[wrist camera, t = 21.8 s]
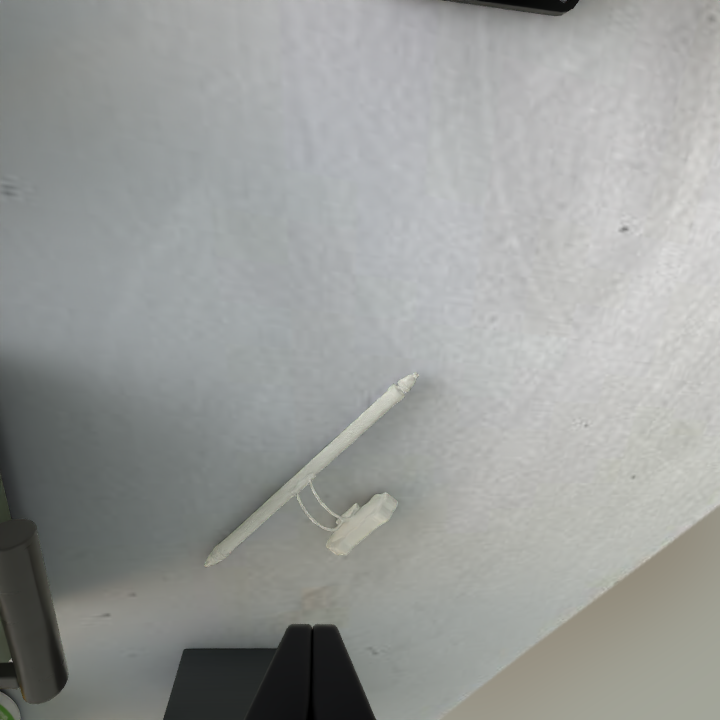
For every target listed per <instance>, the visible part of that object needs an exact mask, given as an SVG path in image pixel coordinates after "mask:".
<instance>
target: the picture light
mask: <svg viewBox="0 0 720 720" xmlns="http://www.w3.org/2000/svg"><path fill="white" fill-rule="evenodd" d="M418 376H419V374H418V373H417V372H415V373H414V375H408V376H406V377H405V378H403V379H400V380H399V381H398V386H397V385H395V384H393V385H392V386H391V387H390V388H388V389H387V392H386V393H385V394H383V395H382V396H381V397H380V398H379V399H378V400H377V401H376V402H375V403H374V404H373V405H371V406H370V407H369V408H368V409H367V410H366V411H365V412H364V413H363V414H362V415H360V416H359V417H358V418H357V419H356V420H355V421H354V422H353V423H352V424H351V425H350V426H348V427H347V428H346V429H345V430H344V431H343V432H342V433H341V434H340V435H339V436H337V437H336V438H335V439H334V440H333V441H332V442H331V443H330V444H329V445H328V446H327V447H325V448H324V449H323V450H322V451H321V452H320V453H319V454H318V455H317V456H316V457H314V458H313V459H312V460H311V461H310V462H309V463H308V464H307V465H306V466H305V467H304V468H302V469H301V470H300V471H299V472H298V473H297V474H296V475H295V476H294V477H293V478H291V479H290V480H289V481H288V482H287V483H286V484H285V485H284V486H283V487H282V488H281V489H279V490H278V491H277V492H276V493H275V494H274V495H273V496H272V497H271V498H270V499H268V500H267V501H266V502H265V503H264V504H263V505H262V506H261V507H260V508H259V509H258V510H256V511H255V512H254V513H253V514H252V515H251V516H250V517H249V518H248V519H247V520H245V521H244V522H243V523H242V524H241V525H240V526H239V527H238V528H237V529H236V530H235V531H233V532H232V533H231V534H230V535H229V536H228V537H227V538H226V539H225V540H224V541H222V542H220V543H219V544H218V545H217V546H216V547H214V549H213V551H212V552H211V553H210V555H209V556H208V558H207V560H206V563H205V564H204V566H205V567H208V566H212V565H215V564H217V563H219V562H220V561H221V560H224V559H225V558H226V557H227V556H228V555H230V552H232V551H233V550H234V549H235V548H236V547H237V546H238V545H239V544H240V543H242V542H243V541H244V540H245V539H246V538H247V537H248V536H249V535H250V534H252V533H253V532H254V531H255V530H256V529H257V528H258V527H259V526H260V525H262V524H263V523H264V522H265V521H266V520H267V519H268V518H269V517H270V516H272V515H273V514H274V513H275V512H276V511H277V510H278V509H279V508H280V507H282V506H283V505H284V504H285V503H286V502H287V501H288V500H289V499H290V498H292V497H293V496H297V499H298V502H299V504H300V506H301V508H302V509H303V511H304V512H305V514H306V515H307V516H308V517H309V519H310V520H311V521H312V522H313V523H314V524H316V525H317V526H318V527H320V528H321V529H324V530H326V531H333V533H332V536H331V537H330V538H329V539H328V541H327V543H326V547H327V549H329V550H330V551H332V552H333V553H335V554H336V555H341V554H343V555H347V554H348V553H349V552H350V551H351V550H352V549H353V547H354V546H356V545H357V544H358V543H359V542H360V541H362V540H363V539H364V538H365V537H367V536H368V535H369V534H370V533H371V532H373V531H374V530H375V529H376V528H377V527H379V526H380V525H381V524H383V523H386V522H387V521H388V520H389V519H390V518H391V516H392V513H393V511H394V510H395V509H396V507H397V505H398V502H397V500H395V499H394V498H393V497H392V496H390V495H389V494H388V493H383V494H381V495H380V494H376V495H374V496H373V497H372V498H371V500H370V501H369V502H368V503H367V504H365V505H364V506H362V507H361V508H360V506H359V505H358V504H357V503H356V504H355V505H353V506H352V507H351V508H350V509H349V510H348V511H346V512H345V513H344V514H343V515H342V516H339V515H336V514H335V513H333V512H332V511H331V510H330V509H329V508H328V507H327V506H326V505H325V504H324V503H323V502H322V501H321V499H320V498H319V497H318V495H317V493H316V492H315V490H314V487H313V485H312V480H314V479H315V477H316V475H317V474H318V473H319V472H321V471H322V470H323V469H324V468H325V467H326V466H327V465H328V464H329V463H331V462H332V461H333V460H334V459H335V458H336V457H337V456H338V455H339V454H341V453H342V452H343V451H344V450H345V449H346V448H347V447H348V446H349V445H351V444H352V443H353V442H354V441H355V440H356V439H357V438H358V437H359V436H361V435H362V434H363V433H364V432H365V431H366V430H367V429H368V428H369V427H371V426H372V425H373V424H374V423H375V422H376V421H377V420H378V419H379V418H381V417H382V416H383V415H384V414H385V413H386V412H387V411H388V410H389V409H391V408H392V407H393V406H394V405H395V404H396V403H397V402H400V401H401V400H402V399H403V398H404V397H405V394H404V392H407V393H408V392H409V391H410V390H411V387H412V386H413V385H414V384H415V382H416V377H418ZM403 391H404V392H403ZM308 484H309V485H310V487H311V490H312V492H313V494H314V495H315V497H316V499H317V500H318V501H319V503H320V504H321V505H322V506H323V507H324V509H325V510H326V511H327V512H329V513H330V514H331V515H333V516H334V517H336V518H338V519H337V520H336V524H337V525H338V526H337V527H336V528H333V529H332V528H327V527H324V526H322V525H321V524H319V523H318V522H317V521H315V520H314V519H313V518H312V516H311V515H310V514H309V513H308V511H307V510H306V509H305V507H304V505H303V504H302V502H301V499H300V496H299V492H300V491H301V490H302V489H303V488H305V487H306V486H307V485H308Z"/></svg>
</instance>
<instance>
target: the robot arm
mask: <svg viewBox="0 0 720 720" xmlns="http://www.w3.org/2000/svg"><path fill="white" fill-rule="evenodd" d="M444 1H451V2H458V3H466V4H473V5H480V6H487V7H494V8H502V9H509V10H516V11H523V12H531V13H538V14H545V15H552V16H560V15H563V14H565V13H566V12H568V11H570V10H571V9H573V8H574V7H575V6H576V4H577V3H578V1H579V0H566V2H565V3H563V2H561V1H560V0H444ZM244 720H376V718H375V716H374V714H373V711H372V709H371V707H370V704H369V702H368V699H367V697H366V695H365V692H364V690H363V688H362V685H361V683H360V680H359V678H358V676H357V673H356V671H355V668H354V666H353V664H352V661H351V659H350V657H349V654H348V652H347V649H346V647H345V645H344V642H343V640H342V638H341V635H340V633H339V630H338V629H337V627H336V626H335V625H333V624H316V625H314V626H313V629H312V627H311V625H309V624H291V625H289V626H288V628H287V629H286V631H285V633H284V636H283V638H282V640H281V642H280V644H279V646H278V648H277V650H276V653H275V655H274V657H273V659H272V661H271V663H270V665H269V667H268V670H267V672H266V674H265V676H264V678H263V680H262V682H261V684H260V687H259V689H258V691H257V693H256V695H255V697H254V699H253V701H252V704H251V706H250V708H249V710H248V712H247V714H246V716H245V718H244Z"/></svg>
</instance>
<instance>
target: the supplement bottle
mask: <svg viewBox="0 0 720 720" xmlns="http://www.w3.org/2000/svg"><path fill="white" fill-rule="evenodd" d="M0 720H20V711H19V709H18V707H17V705H16V703H15V702H14V701H13V700H12V699H11V698H10V697H9V696H7V695H6V694H4V693H3V692H1V691H0Z"/></svg>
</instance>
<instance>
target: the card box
mask: <svg viewBox="0 0 720 720" xmlns="http://www.w3.org/2000/svg"><path fill="white" fill-rule="evenodd" d="M276 650H277V649H185V650H184V651H183V654H182V657H181V661H180V664H179V668H178V671H177V674H176V678H175V681H174V685H173V688H172V691H171V695H170V698H169V702H168V705H167V708H166V712H165V715H164V718H163V720H244V718H245V716H246V714H247V712H248V710H249V708H250V706H251V704H252V701H253V699H254V697H255V695H256V693H257V691H258V689H259V687H260V684H261V682H262V680H263V678H264V676H265V674H266V672H267V670H268V667H269V665H270V663H271V661H272V659H273V657H274V655H275V653H276Z"/></svg>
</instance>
